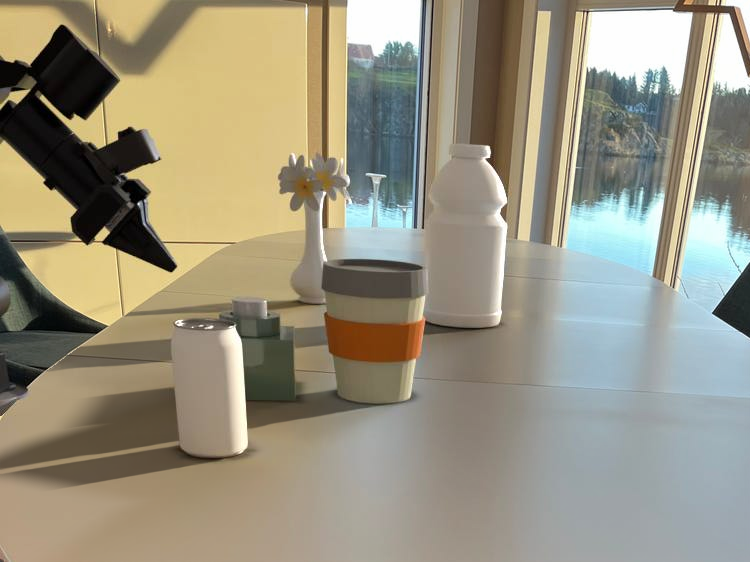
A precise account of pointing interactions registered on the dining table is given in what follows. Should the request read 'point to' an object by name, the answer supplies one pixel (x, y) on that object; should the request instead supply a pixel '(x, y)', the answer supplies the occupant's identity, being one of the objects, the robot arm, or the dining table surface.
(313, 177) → the flower vase
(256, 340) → the button housing
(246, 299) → the white button cap
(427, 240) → the bottle
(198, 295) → the dining table surface
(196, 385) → the can
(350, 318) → the reusable coffee cup
